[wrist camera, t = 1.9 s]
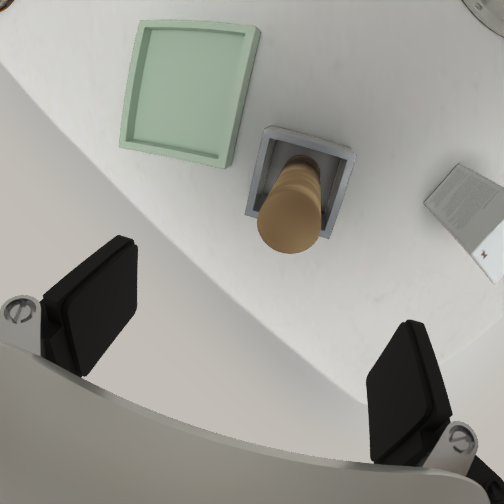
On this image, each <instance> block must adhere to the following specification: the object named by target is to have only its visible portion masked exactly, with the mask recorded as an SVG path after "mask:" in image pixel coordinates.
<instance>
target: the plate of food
mask: <svg viewBox="0 0 504 504" xmlns="http://www.w3.org/2000/svg"><path fill="white" fill-rule="evenodd" d="M13 1H14V0H0V12H1V11H3V10H5V9H6V8H7V7H8V6H10V4H11V3H12V2H13Z"/></svg>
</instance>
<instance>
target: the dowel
mask: <svg viewBox="0 0 504 504" xmlns="http://www.w3.org/2000/svg"><path fill="white" fill-rule="evenodd" d="M257 227H258V231H259V234H260V236H261V238H262V239H263V241H264V242H265V243H266V244H267V245H268V246H269V247H271V248H272V249H274V250H276V251H279V252H282V253H288V254H294V253H299V252H302V251H305V250H306V249H308V248H310V247H311V246H312V245H313V244H314V243H315V242H316V240H317V239H318V237H319V234H320V231H321V191H320V170H319V167H318V165H317V163H316V162H315V161H314V160H313V159H312V158H310V157H308V156H304V155H298V156H294V157H292V158H291V159H289V160H288V161H287V163H286V164H285V166H284V168H283V169H282V171H281V173H280V175H279V177H278V178H277V180H276V182H275V184H274V186H273V187H272V189H271V191H270V193H269V195H268V196H267V198H266V200H265V202H264V204H263V206H262V207H261V209H260V211H259V214H258V218H257Z"/></svg>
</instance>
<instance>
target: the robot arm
mask: <svg viewBox="0 0 504 504" xmlns="http://www.w3.org/2000/svg"><path fill="white" fill-rule="evenodd" d="M463 1H464V3H465V4H466V5H467V7H468V8H469V9H470V10H471V11H472V12H473V13H474V15H475V16H476V17H477V18H478V19H479V20H480V21H482V22H483V23H484V24H485V25H486V26H487V27H489V28H490V29H491V30H493V31H494V32H496V33H498V34H499V35H501V36H503V37H504V0H463ZM137 260H138V247H137V245H135V244H134V240H133V239H130V238H127V237H124V236H121V235H117V236H116V237H114V238H113V239H112V240H111V241H109V242H108V243H107V244H105V245H104V246H103V247H101V248H100V249H99V250H97V251H96V252H95V253H94V254H92V255H91V256H90V257H88V258H87V259H86V260H85V261H83V262H82V263H81V264H80V265H78V266H77V267H76V268H75V269H73V270H72V271H71V272H70V273H69V274H67V275H66V276H65V277H64V278H63V279H61V280H60V281H59V282H58V283H57V284H55V285H54V286H53V287H52V288H51V289H50V290H48V291H47V292H46V293H45V294H44V295H43V298H44V299H42V300H41V301H40V302H38V300H37V299H35V298H34V297H31V296H28V295H20V296H15V297H13V298H11V299H9V300H8V301H6V302H5V303H4V304H3V306H2V307H1V310H0V504H504V482H503V480H502V479H501V478H500V477H499V476H498V475H497V474H496V473H495V472H494V471H492V470H491V469H490V468H489V467H488V466H487V465H486V464H485V463H484V462H483V461H482V460H481V459H480V458H478V457H477V456H476V452H477V449H478V439H477V436H476V434H475V433H474V431H473V429H472V428H471V427H470V426H469V425H467V424H465V423H464V422H460V421H454V422H450V417H451V416H452V410H451V406H450V403H449V399H448V395H447V392H446V389H445V385H444V382H443V379H442V375H441V372H440V369H439V366H438V363H437V360H436V357H435V354H434V351H433V348H432V345H431V342H430V339H429V337H428V334H427V331H426V328H425V326H424V324H423V323H421V322H417V321H414V320H410V319H409V320H407V321H406V322H402V323H401V324H400V325H399V327H398V329H397V330H396V332H395V333H394V335H393V337H392V338H391V340H390V342H389V343H388V345H387V346H386V348H385V349H384V351H383V353H382V354H381V356H380V357H379V359H378V360H377V362H376V363H375V365H374V366H373V368H372V369H371V371H370V372H369V374H368V376H367V379H366V387H367V399H368V413H369V432H370V458H371V460H372V461H374V464H369V463H360V462H351V461H343V460H335V459H328V458H322V457H315V456H309V455H304V454H299V453H293V452H288V451H284V450H279V449H274V448H270V447H266V446H261V445H257V444H253V443H249V442H245V441H242V440H237V439H234V438H231V437H227V436H223V435H221V434H217V433H214V432H211V431H207V430H205V429H201V428H198V427H195V426H192V425H190V424H186V423H184V422H181V421H178V420H176V419H173V418H170V417H167V416H165V415H162V414H159V413H157V412H154V411H152V410H150V409H147V408H145V407H142V406H140V405H138V404H135V403H133V402H131V401H128V400H126V399H124V398H122V397H119V396H117V395H115V394H113V393H111V392H109V391H107V390H105V389H102V388H100V387H98V386H96V385H94V384H92V383H90V382H88V381H86V380H84V379H82V378H81V377H82V376H87V375H88V374H89V373H90V371H91V370H92V369H93V367H94V366H95V364H96V363H97V361H99V359H100V358H101V357H102V355H103V354H104V353H105V351H106V350H107V348H108V347H109V346H110V345H111V343H112V342H113V341H114V340H115V338H116V337H117V336H118V334H119V333H120V332H121V331H122V329H123V328H124V327H125V325H126V324H127V323H128V322H129V320H130V319H131V318H132V317H133V315H134V314H135V311H136V309H137Z"/></svg>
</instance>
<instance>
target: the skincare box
mask: <svg viewBox="0 0 504 504" xmlns="http://www.w3.org/2000/svg"><path fill="white" fill-rule="evenodd" d="M424 205H425V206H426V207H427V208H428V209H429V210H430V211H431V212H432V213H433V215H434V216H435V217H436V218H437V219H438V220H439V221H440V222H441V224H442V225H443V226H444V227H445V228H446V229H447V230H448V231H449V232H450V233H451V235H452V236H453V237H454V238H455V239H456V240H457V241H458V242H459V243H460V245H461V246H462V247H463V248H464V249H465V250H466V251H467V253H468V254H469V255H470V256H471V257H472V258H473V260H474V261H475V262H476V263H477V265H478V266H479V267H480V268H481V269H482V271H483V272H484V273H485V274H486V276H487V277H488V278H489V279H490V281H491V282H492V283H493V284H494V285H495V284H496V283H497V282H498V281H499V280H500V279H501V278H502V277H503V276H504V187H502V186H500V185H498V184H497V183H495V182H493V181H491V180H489V179H487V178H485V177H484V176H482V175H480V174H478V173H476V172H474V171H472V170H470V169H468V168H466V167H464V166H462V165H460V164H457V166H456V167H455V168H454V169H453V170H452V172H451V173H450V174H449V175H448V176H447V177H446V179H445V180H444V181H443V182H442V183H441V184H440V185H439V187H438V188H437V189H436V190H435V191H434V192H433V193H432V194H431V195H430V197H429V198H428V199H427V200H426V201H425V202H424Z"/></svg>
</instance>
